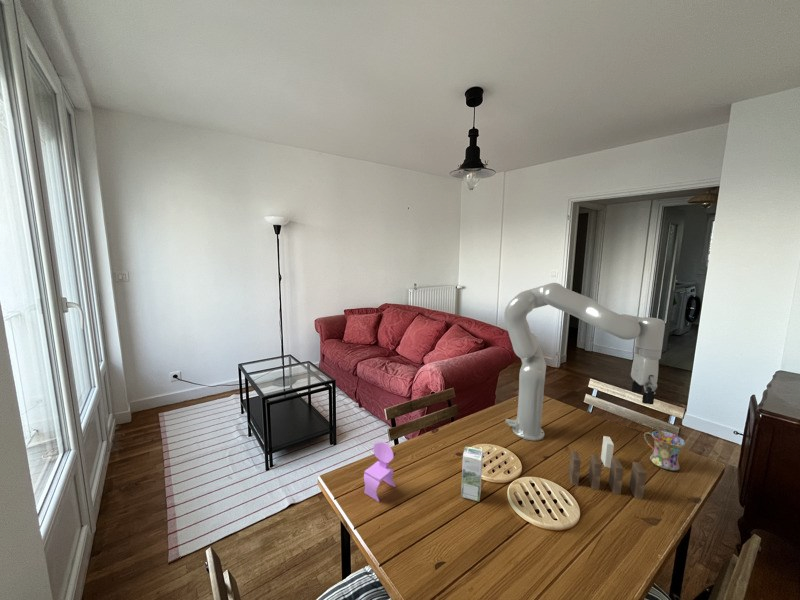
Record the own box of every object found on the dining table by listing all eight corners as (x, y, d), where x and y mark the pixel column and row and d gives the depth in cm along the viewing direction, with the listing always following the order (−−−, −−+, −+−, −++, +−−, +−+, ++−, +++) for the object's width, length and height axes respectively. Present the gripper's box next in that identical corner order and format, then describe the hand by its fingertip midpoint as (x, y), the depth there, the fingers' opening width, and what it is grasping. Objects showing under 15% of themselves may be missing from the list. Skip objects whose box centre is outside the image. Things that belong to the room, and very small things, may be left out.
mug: (686, 468, 116) (690, 441, 114) (672, 476, 112) (676, 447, 110) (648, 450, 126) (651, 424, 125) (634, 456, 122) (638, 430, 121)
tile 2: (613, 493, 104) (616, 467, 102) (608, 482, 108) (611, 457, 107) (620, 494, 103) (623, 469, 102) (615, 483, 108) (618, 459, 106)
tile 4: (571, 484, 107) (573, 459, 106) (568, 474, 112) (571, 450, 111) (578, 485, 107) (580, 460, 105) (575, 475, 112) (577, 451, 110)
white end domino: (604, 466, 116) (607, 443, 115) (600, 458, 121) (603, 435, 120) (611, 468, 116) (613, 444, 114) (607, 459, 121) (609, 436, 119)
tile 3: (591, 488, 105) (594, 463, 104) (588, 478, 110) (590, 454, 109) (598, 490, 105) (601, 464, 103) (594, 479, 110) (597, 455, 108)
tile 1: (635, 497, 102) (638, 471, 100) (629, 486, 107) (632, 461, 105) (642, 499, 101) (646, 473, 100) (636, 488, 106) (639, 463, 105)
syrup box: (481, 489, 104) (483, 448, 102) (479, 503, 99) (481, 459, 97) (463, 485, 106) (465, 444, 104) (460, 498, 101) (462, 455, 99)
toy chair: (360, 492, 103) (360, 448, 101) (378, 477, 110) (378, 436, 108) (380, 504, 98) (380, 459, 96) (398, 488, 105) (398, 445, 103)
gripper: (626, 344, 124) (621, 387, 127) (645, 358, 108) (639, 406, 111) (649, 346, 122) (644, 389, 125) (672, 361, 106) (665, 410, 108)
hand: (641, 397), depth 118 cm, fingers open, 9 cm apart
